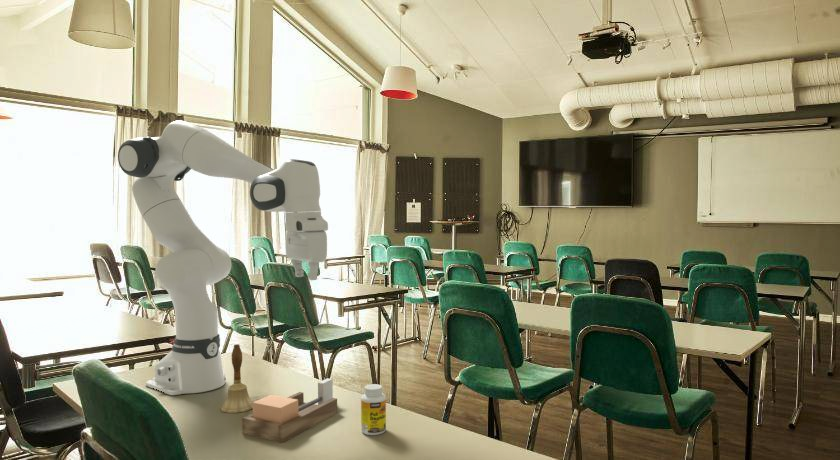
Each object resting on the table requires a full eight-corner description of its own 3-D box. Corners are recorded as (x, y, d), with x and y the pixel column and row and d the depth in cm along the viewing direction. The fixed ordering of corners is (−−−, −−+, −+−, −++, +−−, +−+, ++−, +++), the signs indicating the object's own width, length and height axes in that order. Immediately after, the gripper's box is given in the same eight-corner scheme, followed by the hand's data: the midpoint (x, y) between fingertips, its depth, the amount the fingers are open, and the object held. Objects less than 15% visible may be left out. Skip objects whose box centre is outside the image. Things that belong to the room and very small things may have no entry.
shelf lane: (242, 433, 130) (242, 417, 130) (299, 405, 148) (299, 391, 147) (282, 442, 125) (282, 426, 124) (337, 412, 142) (337, 398, 142)
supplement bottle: (368, 438, 127) (368, 392, 126) (357, 430, 131) (356, 385, 131) (390, 432, 130) (390, 387, 129) (378, 424, 134) (378, 381, 134)
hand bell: (214, 407, 147) (213, 345, 146) (245, 399, 152) (243, 339, 152) (230, 416, 141) (229, 350, 140) (261, 407, 147) (260, 344, 146)
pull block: (253, 430, 130) (252, 402, 130) (317, 399, 151) (317, 374, 151) (281, 437, 127) (280, 408, 126) (343, 404, 148) (342, 378, 147)
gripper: (278, 224, 153) (280, 276, 154) (305, 224, 136) (308, 283, 136) (301, 223, 157) (303, 274, 157) (330, 223, 139) (333, 280, 140)
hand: (306, 278), depth 146 cm, fingers open, 8 cm apart
